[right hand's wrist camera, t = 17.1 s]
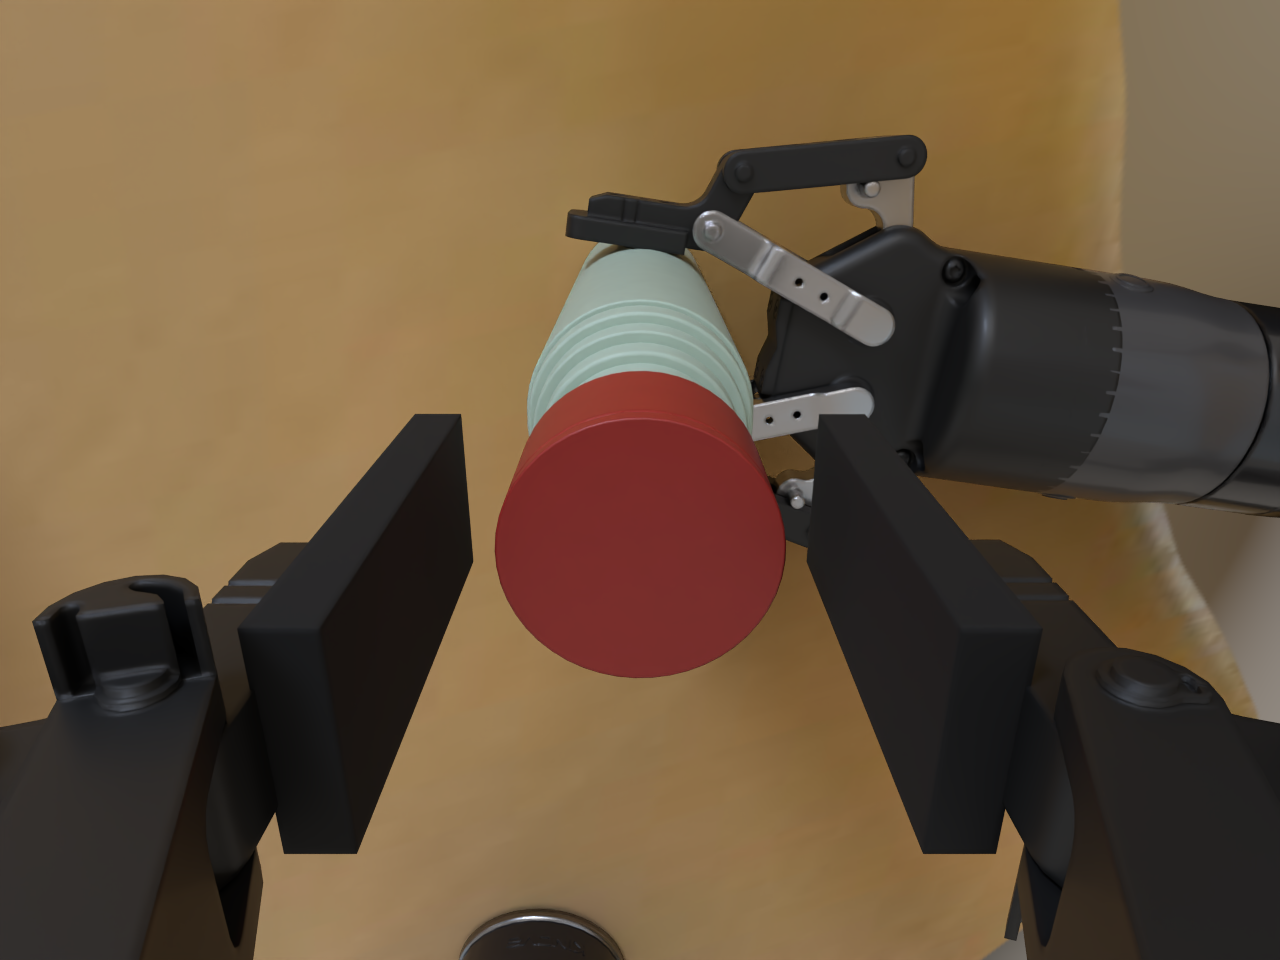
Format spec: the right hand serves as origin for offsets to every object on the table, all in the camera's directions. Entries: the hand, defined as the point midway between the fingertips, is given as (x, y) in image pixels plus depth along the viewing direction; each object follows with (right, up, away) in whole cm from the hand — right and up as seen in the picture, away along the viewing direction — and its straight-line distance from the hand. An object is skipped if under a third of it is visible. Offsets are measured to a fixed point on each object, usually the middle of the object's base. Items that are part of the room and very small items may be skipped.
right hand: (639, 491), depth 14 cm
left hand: (-3, +6, +13) cm, 15 cm away
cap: (0, -1, -2) cm, 2 cm away
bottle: (0, +8, +19) cm, 21 cm away
